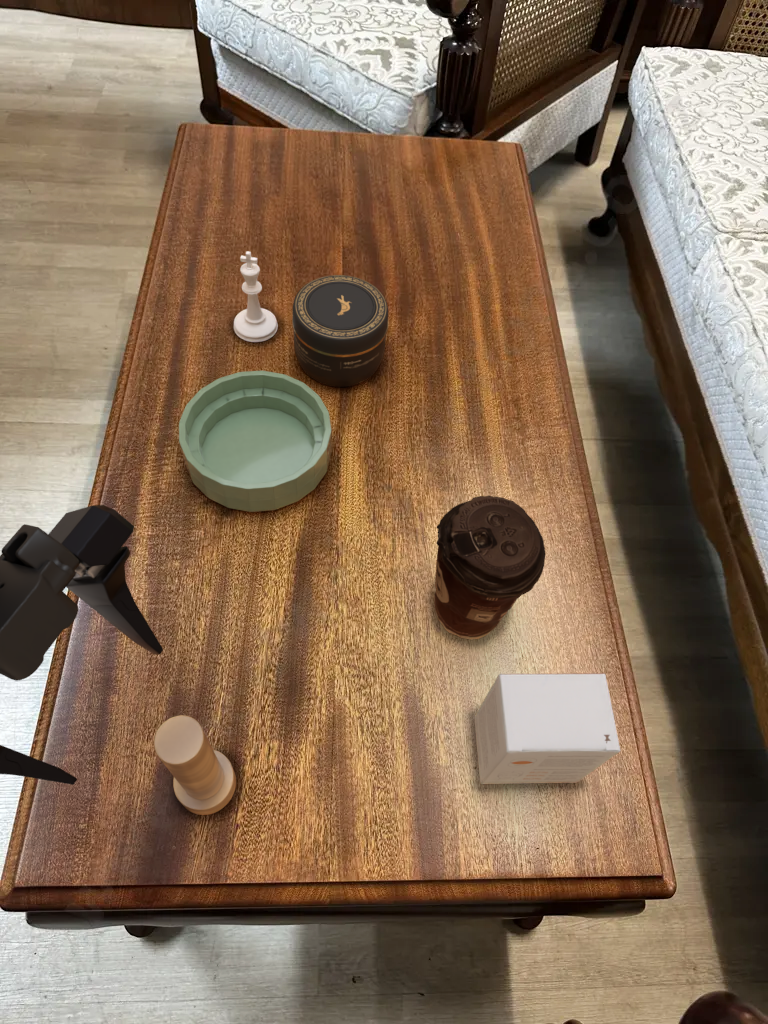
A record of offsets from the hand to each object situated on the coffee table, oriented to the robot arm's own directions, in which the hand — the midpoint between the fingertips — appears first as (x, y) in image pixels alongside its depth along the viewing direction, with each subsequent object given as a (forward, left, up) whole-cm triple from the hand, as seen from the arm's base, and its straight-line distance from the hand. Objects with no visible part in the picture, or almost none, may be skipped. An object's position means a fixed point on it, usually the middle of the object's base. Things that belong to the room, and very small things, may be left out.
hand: (118, 713), depth 46 cm
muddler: (+5, 0, -11) cm, 12 cm away
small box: (+26, +14, -11) cm, 32 cm away
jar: (-8, +44, -11) cm, 47 cm away
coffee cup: (+16, +24, -11) cm, 31 cm away
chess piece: (-19, +44, -11) cm, 49 cm away
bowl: (-9, +29, -11) cm, 32 cm away
